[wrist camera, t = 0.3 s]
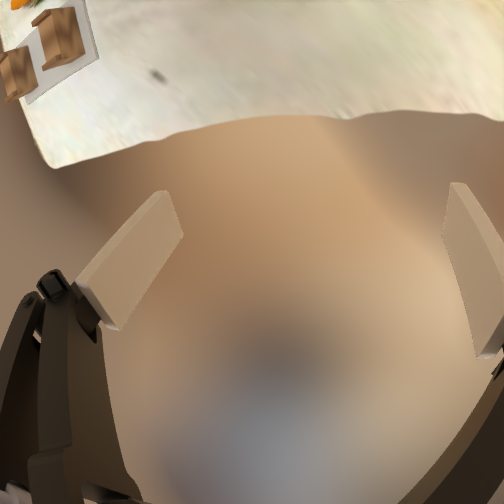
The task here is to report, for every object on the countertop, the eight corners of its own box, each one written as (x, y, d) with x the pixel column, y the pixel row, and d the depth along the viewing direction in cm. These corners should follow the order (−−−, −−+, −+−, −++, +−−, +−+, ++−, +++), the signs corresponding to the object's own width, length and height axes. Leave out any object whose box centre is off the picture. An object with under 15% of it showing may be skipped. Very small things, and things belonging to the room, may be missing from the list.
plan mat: (15, 50, 34) (13, 51, 34) (82, -8, 27) (80, -8, 26) (29, 103, 42) (27, 104, 42) (99, 58, 35) (96, 58, 35)
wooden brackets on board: (21, 53, 35) (-6, 62, 29) (76, 6, 29) (44, 9, 23) (31, 92, 41) (5, 104, 35) (88, 53, 34) (56, 60, 29)
